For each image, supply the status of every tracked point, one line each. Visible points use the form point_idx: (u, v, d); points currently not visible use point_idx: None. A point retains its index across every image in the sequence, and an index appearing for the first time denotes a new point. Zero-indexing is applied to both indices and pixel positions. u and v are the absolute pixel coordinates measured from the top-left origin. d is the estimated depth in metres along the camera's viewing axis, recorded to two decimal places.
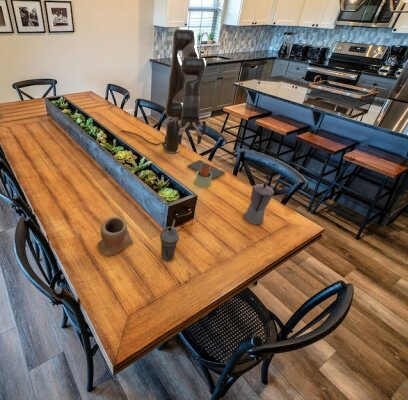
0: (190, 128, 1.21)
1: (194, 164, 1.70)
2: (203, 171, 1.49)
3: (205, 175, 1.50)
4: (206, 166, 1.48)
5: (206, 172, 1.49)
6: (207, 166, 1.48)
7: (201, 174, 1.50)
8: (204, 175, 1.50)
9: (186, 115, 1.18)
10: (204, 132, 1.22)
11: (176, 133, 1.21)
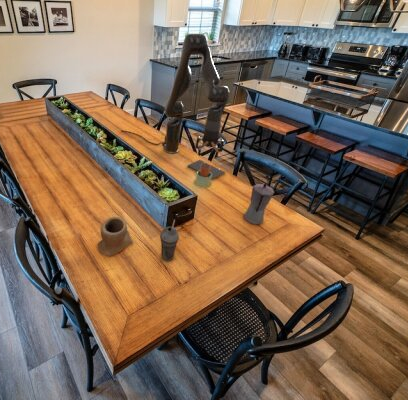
0: (209, 145, 1.40)
1: (194, 164, 1.70)
2: (203, 171, 1.49)
3: (205, 175, 1.50)
4: (206, 166, 1.48)
5: (206, 172, 1.49)
6: (207, 166, 1.48)
7: (201, 174, 1.50)
8: (204, 175, 1.50)
9: (206, 136, 1.36)
10: (221, 150, 1.40)
11: None
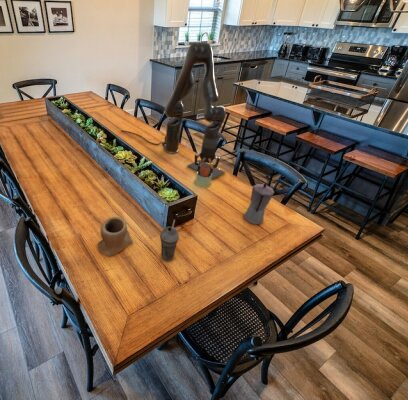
0: (206, 161, 1.46)
1: (194, 164, 1.70)
2: (203, 171, 1.48)
3: (205, 175, 1.50)
4: (206, 166, 1.48)
5: (206, 172, 1.49)
6: (207, 166, 1.48)
7: (201, 174, 1.50)
8: (204, 175, 1.50)
9: (203, 153, 1.42)
10: (215, 166, 1.46)
11: (196, 164, 1.48)
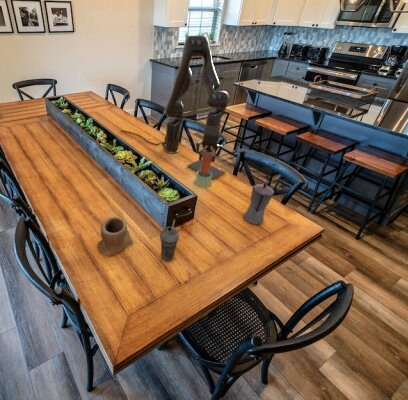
0: (208, 149, 1.42)
1: (194, 164, 1.70)
2: (205, 160, 1.44)
3: (207, 164, 1.46)
4: (208, 154, 1.44)
5: (208, 161, 1.44)
6: (209, 154, 1.44)
7: (203, 163, 1.46)
8: (206, 164, 1.46)
9: (205, 140, 1.37)
10: (218, 154, 1.42)
11: None
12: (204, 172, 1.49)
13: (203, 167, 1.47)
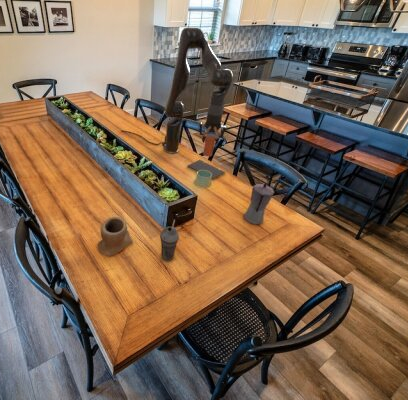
0: (211, 130, 1.40)
1: (194, 164, 1.70)
2: (208, 141, 1.43)
3: (210, 146, 1.44)
4: (211, 136, 1.42)
5: (211, 142, 1.43)
6: (212, 136, 1.42)
7: (206, 145, 1.44)
8: (209, 146, 1.44)
9: (208, 121, 1.36)
10: (221, 136, 1.40)
11: (201, 134, 1.42)
12: (207, 154, 1.47)
13: (206, 149, 1.46)
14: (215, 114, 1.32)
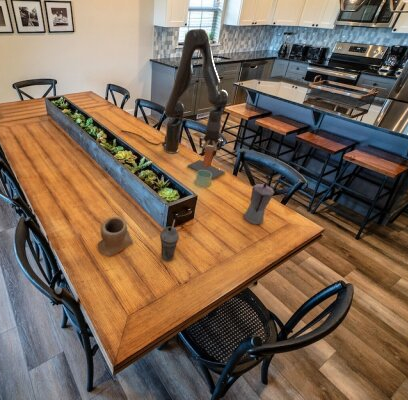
0: (210, 144, 1.56)
1: (194, 164, 1.70)
2: (207, 153, 1.58)
3: (209, 157, 1.60)
4: (210, 149, 1.58)
5: (210, 154, 1.58)
6: (211, 149, 1.58)
7: (205, 156, 1.60)
8: (208, 157, 1.60)
9: (207, 135, 1.51)
10: (219, 148, 1.56)
11: (200, 147, 1.58)
12: (206, 165, 1.63)
13: (205, 160, 1.61)
14: (213, 130, 1.48)
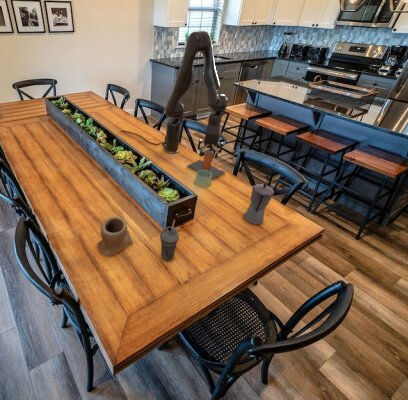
0: (209, 147, 1.57)
1: (194, 164, 1.70)
2: (206, 157, 1.60)
3: (208, 161, 1.61)
4: (209, 153, 1.59)
5: (209, 158, 1.60)
6: (210, 153, 1.59)
7: (205, 160, 1.62)
8: (207, 161, 1.61)
9: (207, 139, 1.53)
10: (220, 151, 1.57)
11: (198, 149, 1.59)
12: (206, 169, 1.64)
13: (205, 164, 1.63)
14: (212, 133, 1.49)
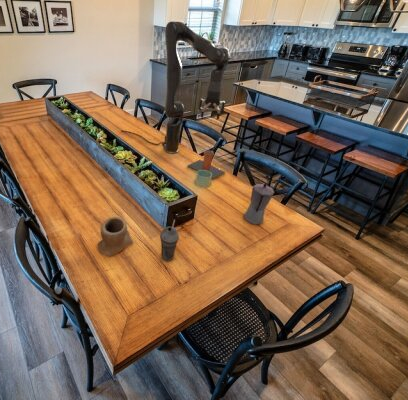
0: (211, 107, 1.51)
1: (194, 164, 1.70)
2: (206, 157, 1.60)
3: (208, 161, 1.61)
4: (209, 153, 1.59)
5: (209, 158, 1.60)
6: (210, 153, 1.59)
7: (205, 160, 1.62)
8: (207, 161, 1.61)
9: (208, 97, 1.47)
10: (222, 111, 1.51)
11: (199, 109, 1.54)
12: (206, 169, 1.64)
13: (205, 164, 1.63)
14: (214, 90, 1.44)
